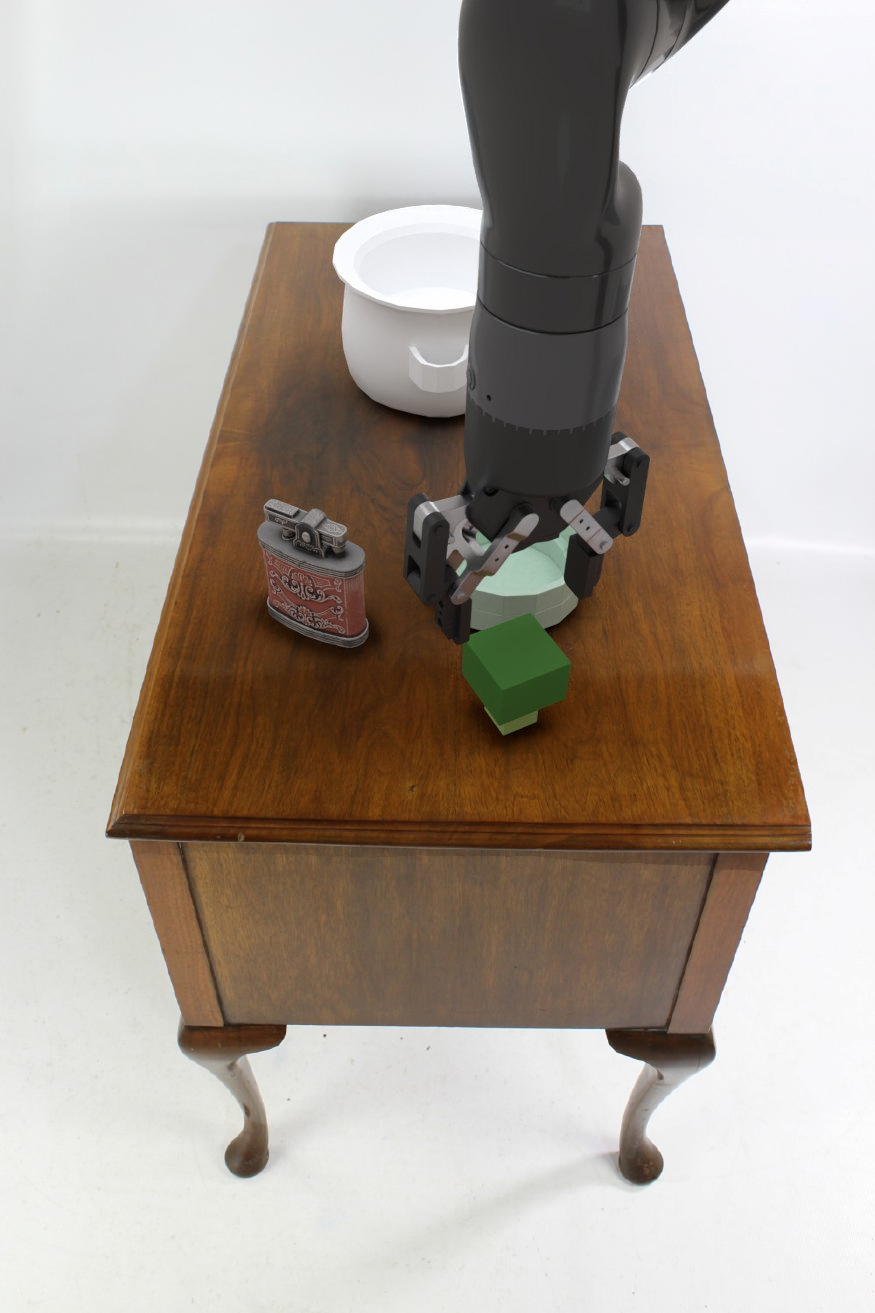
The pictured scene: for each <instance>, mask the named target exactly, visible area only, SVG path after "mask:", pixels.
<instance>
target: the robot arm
mask: <svg viewBox="0 0 875 1313" xmlns="http://www.w3.org/2000/svg"><path fill="white" fill-rule="evenodd" d="M730 1H731V0H461V4H460V8H459V13H458V14H459V15H458V24H457V33H456V34H457V35H456V64H457V76H458V84H459V85H458V86H459V91H460V98H461V103H462V109H463V116H464V120H465V126H466V131H467V136H468V137H467V138H468V143H469V150H470V154H471V159H472V160H471V161H472V167H473V170H474V174H475V179H476V182H477V186H478V190H479V194H480V198H481V204H482V209H481V210H482V218H481V227H480V243H479V261H478V280H477V294H476V303H475V308H474V312H473V317H472V322H471V328H470V335H469V348H468V365H467V371H466V377H467V389H466V410H465V414H464V415H465V416H464V430H463V432H464V434H463V457H464V463H465V477H464V479H463V482H462V484H461V486H460V488H459V489H458V491H457V494H456V495H455V496H450V497H446V498H443V499H440V500H436V501H432V500H431V498H430V497H429V496H428V494H426V493H424V492H420V493H416V494H414V495H413V496H412V497H411V498H409V501H408V503H407V509H406V510H407V511H406V527H405V542H404V555H403V567H402V568H403V570H402V577H403V578H404V579H405V581H406V582H407V584H408V585H409V586H410V588H411V589H412V590H413V592H414V593H415V595H416V596H417V598H418V599H419V601H420V602H421V603H422V604H423V606H425V607H427V608H428V607H433V606H434V618H433V619H434V621H435V623H436V625H437V626H438V628H439V629H440V631H441V632H442V633H443V635H444V636H445V637H446V639H447V640H448V641H449V640H452V642H453V643H454V644H455V645H456V646H460V645H463V643H466V642H468V641H469V640H470V635H471V627H470V625H471V610H472V599H471V598H470V596H471V594H472V593H473V592H474V590H475V589H476V588H477V586H478V585H479V584H480V582H481V581H482V580H483V578H484V577H485V576H493V575H495V574H496V573H497V571H498V570H499V569H500V567H501V566H502V565H503V563H504V562H505V561H506V559H507V558H508V557H509V555H510V554H513V553H516V552H519V551H522V550H524V549H526V548H528V547H529V546H531V545H533V544H535V543H540V542H548V541H551V540H554V539H556V538H559V535H560V533H561V532H562V531H564V530H565V529H566V528H567V527H568V526H569V525H570V526H571V527H572V528H573V529H574V530H575V531H576V532H577V533H576V534H573V535H570V536H569V543H568V549H567V556H566V562H565V569H564V581H565V583H566V585H567V586H568V587H569V589H570V590H571V591H572V592H573V593H574V594H575V596H576V597H577V598H578V599H579V600H578V601H582V600H585V599H588V598H590V597H592V596H593V593H594V588H595V587H596V586H597V585H598V584H599V582H600V580H601V574H602V573H601V572H602V569H603V563H604V559H605V553H607V552H608V551H609V550H610V549H611V548H612V546H613V543H614V539H616V538H618V537H619V536H620V535H622V536H623V537H627V538H628V537H631V536H633V535H636V533H637V532H638V531H639V529H640V527H641V522H642V515H643V509H644V501H645V493H646V489H647V483H648V482H647V481H648V475H649V469H650V463H651V459H650V458H651V457H650V456H649V454H647V453H646V452H645V451H644V450H643V449H642V447H641V446H640V445H638V444H637V443H636V442H635V440H633V439H632V438H630V437H629V436H628V435H627V434H626V433H625V432H624V431H623V430H618V431H615V432H614V426H615V419H616V414H617V408H618V403H619V398H620V391H621V386H622V379H623V373H624V368H625V364H626V356H627V348H628V334H629V332H628V329H629V324H628V323H629V307H630V298H631V293H632V288H633V281H634V275H635V270H636V264H637V258H638V250H639V247H640V240H641V234H642V227H643V217H644V202H643V200H644V198H643V189H642V186H641V184H640V181H639V178H638V176H637V175H636V173H635V172H634V170H633V169H632V167H630V166H629V165H628V164H627V163H626V162H625V161H624V160H622V159H621V158H620V150H621V149H620V147H621V146H620V145H621V130H622V123H623V122H622V121H623V115H624V109H625V105H626V101H627V97H628V94H629V91H630V90H632V89H633V88H636V86H638V85H639V84H641V83H642V82H643V81H644V80H646V79H647V78H649V77H650V76H651V75H652V74H654V73H655V72H657V71H658V70H659V69H660V68H662V67H663V66H664V65H665V64H666V63H668V62H669V61H671V59H672V58H674V57H675V55H677V54H678V53H679V52H680V51H681V50H682V49H683V48H684V47H685V46H686V45H688V43H690V42H691V41H692V40H693V39H694V38H695V37H696V36H697V35H698V34H700V32H701V31H703V29H704V28H705V27H706V26H708V24H709V23H711V21H712V20H713V19H714V18H715V17H716V16H717V15H718V14H719V13H720V12H721V11H722V10H723V9H724V8H725V7H726V5H727V4H728V3H729V2H730ZM601 483H602V485H601ZM600 485H601V495H600V505H599V510H598V511H597V512H595V513H594V514H592V515H591V514H590V513H589V511H588V510H587V509H586V508H585V507H584V506H585V505H586V504H587V503H588V501H589V500H590V498H591V497H592V496H593V494H594V493H595V491H596V490H597V489H598V488H599V487H600ZM478 531H479V532H480V533H481V534H482V535H483V536H484V537H485V538H487V539H488V540H489V541H490V542H491V545H490V546H489V547H488V549H487V550H486V551H484V550H483V549H482V547H481V546H480V545H479V544H478V542H477V541H476V534H477V532H478ZM448 544H449V547H448ZM464 559H465V560H466V562H467V565H466V568H465V569H464V571H463V572H462V573H461V575H460V576H459V575H458V574H457V572H456V570H457V569H458V568H459V566H460V565H461V564H462V562H463V561H464Z"/></svg>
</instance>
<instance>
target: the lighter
mask: <svg viewBox="0 0 875 1313" xmlns="http://www.w3.org/2000/svg"><path fill="white" fill-rule="evenodd" d="M263 514H264V521H263V522H262V523H261V524H260V525H259V526H258V528H257V531H256V536H257V541H258V544H259V546H260V547H261V551H262V557H263V558H262V559H263V565H264V571H265V577H266V579H265V580H266V585H267V592H268V597H267V601H266V605H267V611H268V614H269V615H270V617H271V618H273V619H274V620H276V621H277V622H279V623H281V624H283V625H284V626H285V627H286V628H289V629H291V630H293V631H295V632H296V633H299V634H302V635H303V636H306V637H308V638H312V639H314V640H317V641H319V642H323V643H325V644H330V645H333V646H334V645H335V646H338V647H342V648H351V649H352V648H356V647H359V646H361V645H363V644H364V643H365V642H366V641H367V639H368V637H369V634H370V628H369V622H368V619H367V618H366V602H365V580H364V569H365V567H366V554H365V551H364V549H363V548H362V547H360V546H359V545H357V544H355V543H354V542H353V541H350V540H348V530H347V527H346V526H345V525H344V524H341V523H339V522H336V521H333V520H331V519H330V518H329V517H328V516H327V514H326V513H325V512H324V511H323V510H321V509H319V508H312V509H311V510H310V511H306V510H304V509H300V508H299V507H296V506H295V505H291V504H289V503H286V502H283V501H280V500H278V499H274V498H271V499H269V500H268V501H267V502H266V503H265V504H264V505H263Z"/></svg>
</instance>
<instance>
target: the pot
mask: <svg viewBox="0 0 875 1313" xmlns="http://www.w3.org/2000/svg"><path fill="white" fill-rule="evenodd" d="M482 210H483V209H479V208H478V209H477V208H473V207H468V206H461V205H460V206H459V205H453V204H452V205H451V204H421V205H414V206H405V207H401V208H395V209H389V210H386V211H383V212H379V213H375V214H372V215H370V216H368V217H366V218H364V219H361V220H359V221H357V222H356V223H355V224H354V225H353V226H351V227H350V228H348V229H347V230H346V231H345V232H344V233H342V235H340V237H339V238H338V240H337V241H336V242H335V245H334V249H333V256H332V265H333V269H334V270H335V272H336V275H337V276H338V279H339V280H341V282H343V283H344V293H343V304H342V316H341V328H340V329H341V337H342V339H341V340H342V350H343V353H344V358H345V360H346V364H347V368H348V372H349V374H350V376H351V377H352V379H353V381H354V382H355V384H356V386H357V387H358V388H359V389H360V390H362V392H364V393H365V394H366V395H367V396H368V397H369V398H370V399H371V400H373V402H376V403H378V404H381V405H383V406H386V407H387V408H390V409H394V410H398V411H402V412H406V413H409V414H414V415H418V416H422V417H427V418H452V417H457V416H461V415H465V410H466V389H467V377H466V371H467V365H468V348H469V335H470V328H471V322H472V317H473V312H474V308H475V303H476V294H477V280H478V261H479V243H480V227H481V218H482Z"/></svg>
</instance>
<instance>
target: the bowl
mask: <svg viewBox="0 0 875 1313" xmlns="http://www.w3.org/2000/svg"><path fill="white" fill-rule="evenodd" d="M576 533H577V532H576V531H575V530H574V529H573V528H572V527H571V526H570V525H569V526H568V527H567V528H566V529H565V530H564V531H562V532H561V533H560V535H559V538H556V539H554V540H551V541H548V542H540V543H535V544H533V545H531V546H529V547H528V548H526V549H524V550H522V551H519V552H516V553H513V554H510V555H509V557H508V558H507V559H506V561H505V562H504V563H503V565H502V566H501V567H500V569H499V570H498V571H497V573H496V574H495V575H493V576H485V577H484V578H483V580H482V581H481V582H480V584H479V585H478V586H477V588H476V589H475V590H474V592H473V593H472V594H471V596H470V598H471V599H472V610H471V625H470V629H473V630H477V631H482V630H485V629H487V628H490V627H493V626H496V625H498V624H501V623H504V622H506V621H509V620H512V619H514V618H517V617H520V616H522V615H525V614H528V613H531V614H532V615H533V616H534V617H535V619H536V620H537V621H538V622H539V624H540V625H541V626H542V627H543V628H544V630H545V629H547V628H550V627H552V626H555V625H557V624H559V623H561V621H563V620H564V619H565V618H566V617H567V616H568V615H570V614H571V612H572V611H573V610H575V609H576V607H577V606H578V603H579V601H580V600H579V599H578V598H577V597H576V596H575V594H574V593H573V592H572V591H571V590H570V589H569V587H568V586H567V585H566V583H565V581H564V569H565V562H566V556H567V549H568V543H569V536H570V535H573V534H576ZM476 541H477V542H478V544H479V545H480V546H481V547H482V549H483V550H484V551H486V550H487V549H488V547H489V546H490V545H491V542H490V541H489V540H488V539H487V538H485V537H484V536H483V535H482V534H481V533H480V532H479V531H478V532H477V534H476ZM448 547H449V544H448ZM466 565H467V562H466V560H465V559H464V561H463V562H462V564H461V565H460V566H459V568H458V569H457V570H456V572H457V574H458V575H459V576H460V575H461V573H462V572H463V571H464V569H465V568H466Z"/></svg>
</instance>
